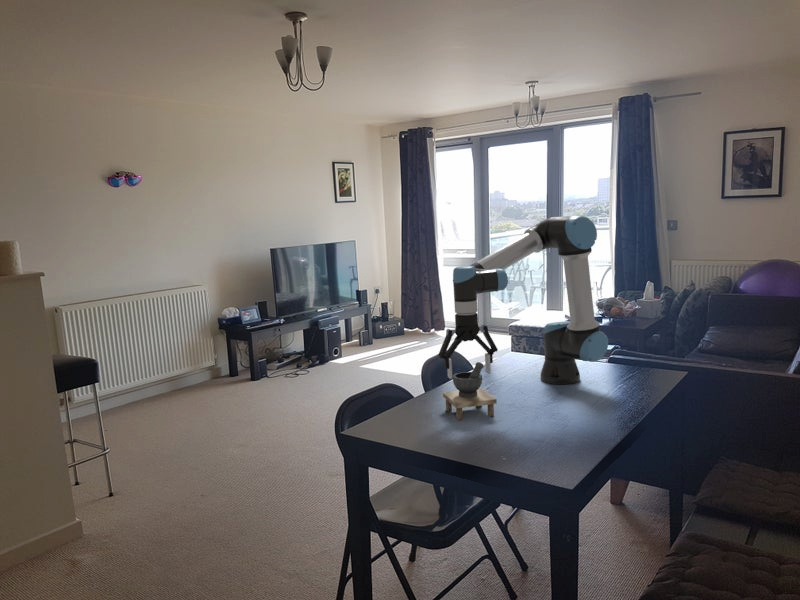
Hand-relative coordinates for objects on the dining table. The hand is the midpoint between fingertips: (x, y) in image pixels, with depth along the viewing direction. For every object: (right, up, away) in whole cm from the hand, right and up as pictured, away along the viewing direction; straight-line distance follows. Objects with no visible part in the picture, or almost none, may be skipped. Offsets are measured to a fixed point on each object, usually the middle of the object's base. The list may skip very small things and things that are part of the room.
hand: (469, 375), depth 200 cm
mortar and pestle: (0, -7, +1) cm, 7 cm away
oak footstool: (0, -13, +2) cm, 13 cm away
